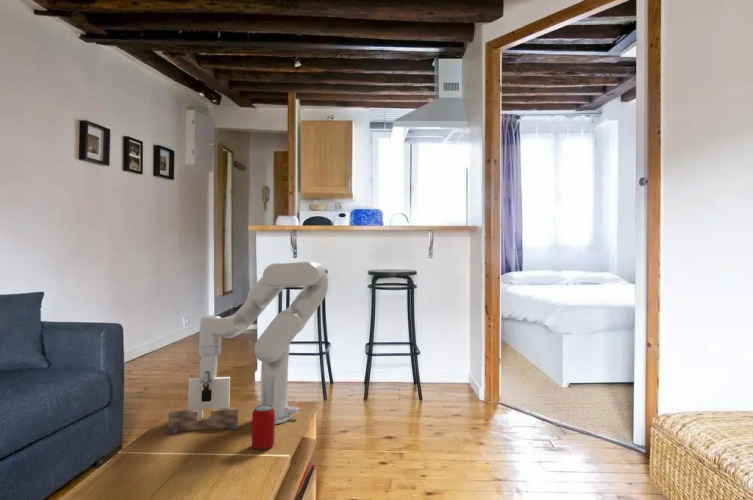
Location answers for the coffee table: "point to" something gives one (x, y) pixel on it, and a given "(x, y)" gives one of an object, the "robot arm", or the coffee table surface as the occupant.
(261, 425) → the beverage can
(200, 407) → the pale notched plate
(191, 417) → the walnut slotted board
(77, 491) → the coffee table surface
